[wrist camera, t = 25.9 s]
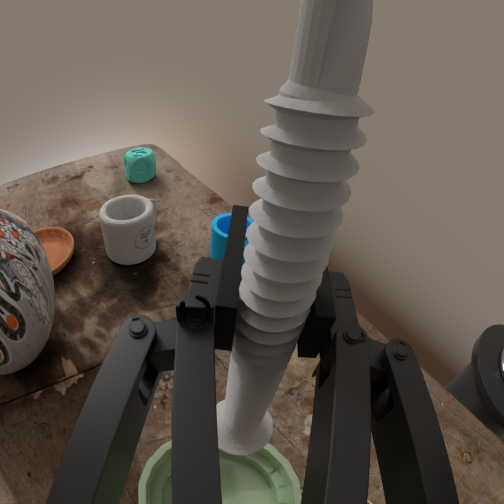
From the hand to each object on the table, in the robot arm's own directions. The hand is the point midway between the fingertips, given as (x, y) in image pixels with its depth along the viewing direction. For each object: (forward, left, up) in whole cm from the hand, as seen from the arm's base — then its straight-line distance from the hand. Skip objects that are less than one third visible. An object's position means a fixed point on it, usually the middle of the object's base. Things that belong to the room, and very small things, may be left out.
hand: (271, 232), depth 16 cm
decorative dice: (+70, -21, -32) cm, 79 cm away
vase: (+30, +23, -32) cm, 49 cm away
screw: (-4, +4, -14) cm, 15 cm away
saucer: (+48, +13, -32) cm, 59 cm away
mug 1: (+41, -7, -32) cm, 52 cm away
